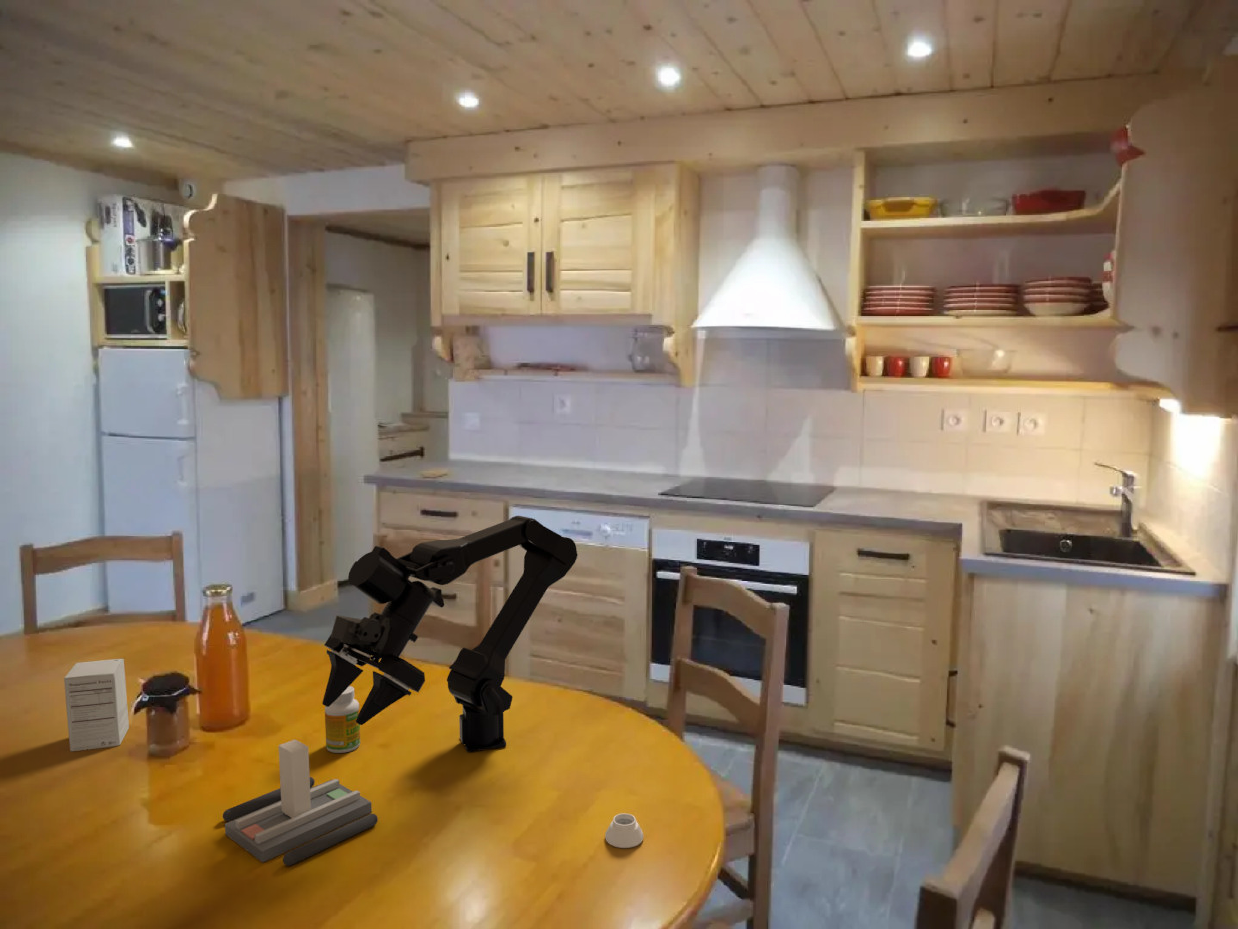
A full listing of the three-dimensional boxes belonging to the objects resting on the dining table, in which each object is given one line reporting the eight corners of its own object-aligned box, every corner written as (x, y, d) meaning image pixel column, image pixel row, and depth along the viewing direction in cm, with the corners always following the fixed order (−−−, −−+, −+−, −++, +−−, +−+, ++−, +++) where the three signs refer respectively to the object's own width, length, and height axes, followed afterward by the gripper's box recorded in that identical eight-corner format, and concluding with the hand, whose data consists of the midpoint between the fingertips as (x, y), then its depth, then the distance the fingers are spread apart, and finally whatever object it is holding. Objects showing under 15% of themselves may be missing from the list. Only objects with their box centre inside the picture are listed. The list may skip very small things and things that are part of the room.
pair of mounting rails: (311, 784, 129) (310, 773, 129) (380, 825, 118) (380, 814, 118) (220, 821, 119) (220, 810, 118) (287, 870, 107) (286, 858, 107)
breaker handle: (297, 804, 120) (295, 739, 118) (311, 812, 117) (308, 746, 116) (281, 811, 118) (278, 745, 117) (294, 820, 116) (291, 752, 114)
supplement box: (81, 733, 146) (75, 662, 144) (130, 728, 148) (125, 657, 146) (68, 752, 139) (62, 677, 137) (120, 746, 141) (114, 672, 139)
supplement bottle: (350, 755, 138) (348, 697, 137) (319, 752, 139) (317, 694, 138) (366, 741, 143) (364, 685, 142) (337, 738, 145) (334, 682, 143)
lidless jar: (650, 838, 115) (621, 825, 118) (650, 818, 115) (621, 805, 118) (627, 855, 111) (597, 841, 114) (627, 834, 111) (597, 820, 114)
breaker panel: (332, 789, 127) (331, 773, 127) (371, 812, 121) (371, 795, 121) (225, 834, 115) (224, 816, 115) (262, 862, 109) (261, 844, 109)
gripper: (329, 581, 130) (267, 674, 124) (398, 605, 118) (334, 710, 112) (380, 615, 137) (324, 705, 131) (450, 641, 125) (392, 742, 119)
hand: (341, 714), depth 123 cm, fingers open, 9 cm apart
